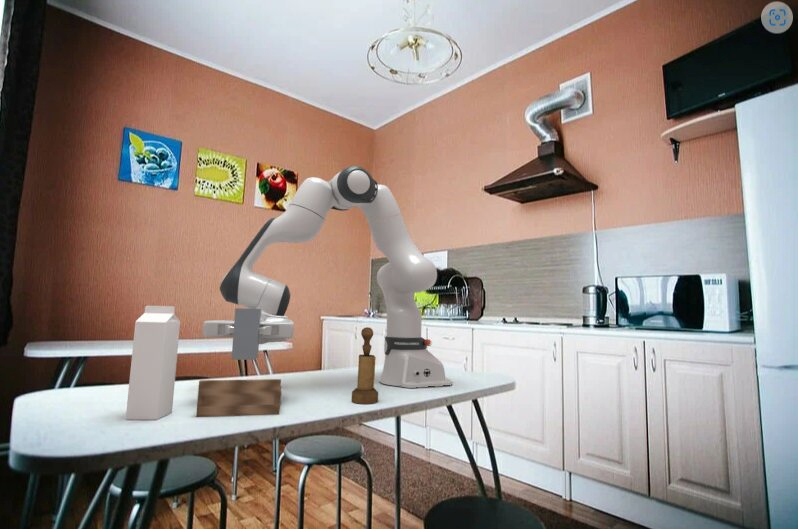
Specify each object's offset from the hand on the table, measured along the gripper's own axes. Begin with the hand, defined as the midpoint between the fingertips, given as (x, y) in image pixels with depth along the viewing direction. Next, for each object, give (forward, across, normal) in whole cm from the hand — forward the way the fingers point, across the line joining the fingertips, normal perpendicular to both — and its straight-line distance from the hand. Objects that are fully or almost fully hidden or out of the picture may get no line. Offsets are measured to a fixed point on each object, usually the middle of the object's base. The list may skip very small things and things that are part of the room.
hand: (246, 330), depth 90 cm
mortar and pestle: (-5, +28, +17) cm, 33 cm away
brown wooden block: (-3, 0, +17) cm, 17 cm away
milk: (+3, -17, +17) cm, 24 cm away
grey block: (-1, 0, +6) cm, 6 cm away
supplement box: (-15, +30, +17) cm, 38 cm away
